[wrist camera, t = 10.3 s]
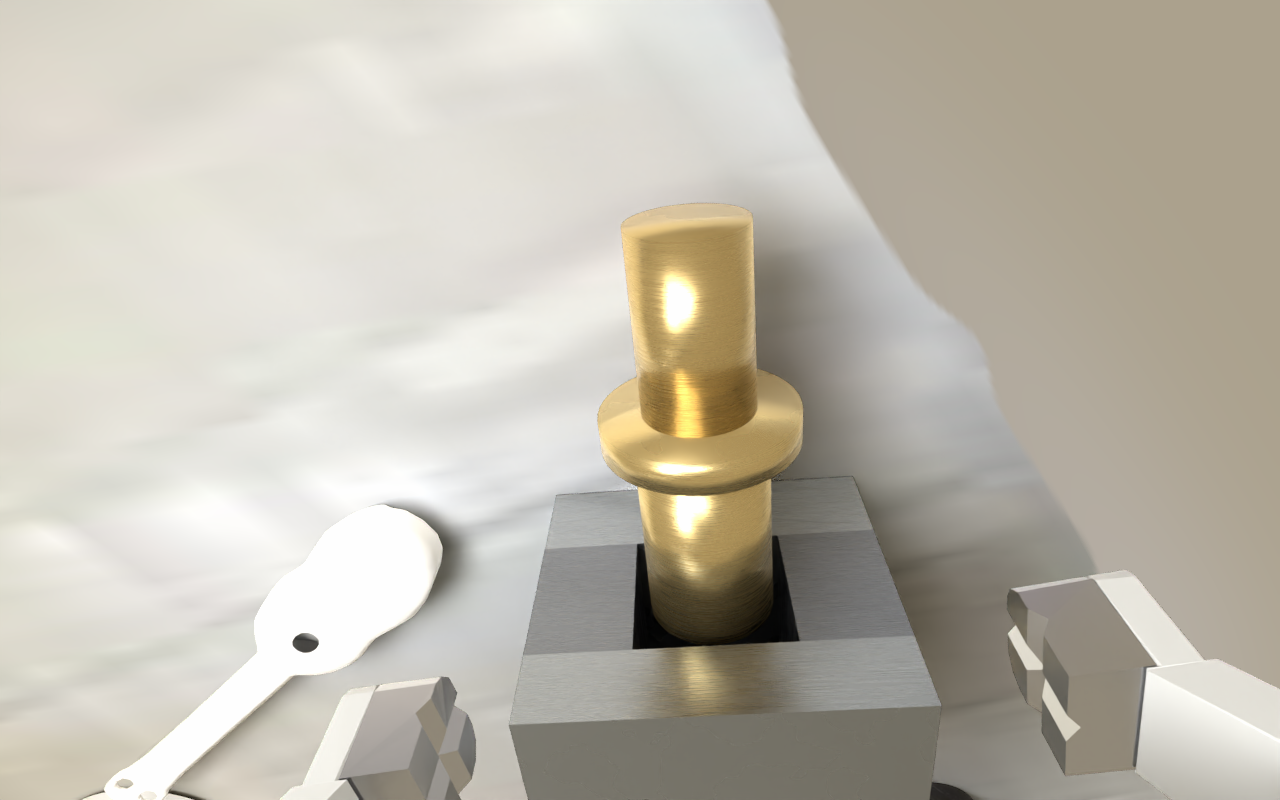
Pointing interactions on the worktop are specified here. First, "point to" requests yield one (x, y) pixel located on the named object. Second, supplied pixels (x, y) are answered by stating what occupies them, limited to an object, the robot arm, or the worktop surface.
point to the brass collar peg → (700, 421)
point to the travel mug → (947, 793)
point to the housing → (724, 669)
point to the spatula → (307, 631)
